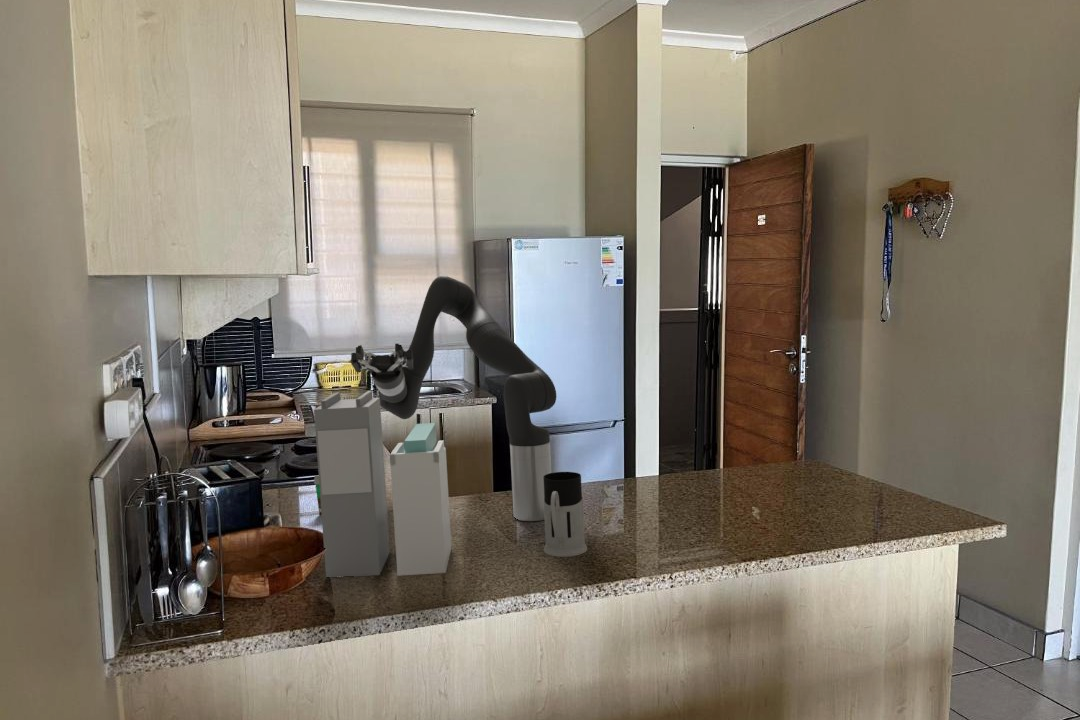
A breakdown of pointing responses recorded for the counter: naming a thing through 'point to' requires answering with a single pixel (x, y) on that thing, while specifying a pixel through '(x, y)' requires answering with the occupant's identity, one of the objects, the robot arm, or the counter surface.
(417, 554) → the white open box
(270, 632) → the counter surface
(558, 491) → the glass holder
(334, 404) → the tall grey pillar
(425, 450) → the teal square bar
